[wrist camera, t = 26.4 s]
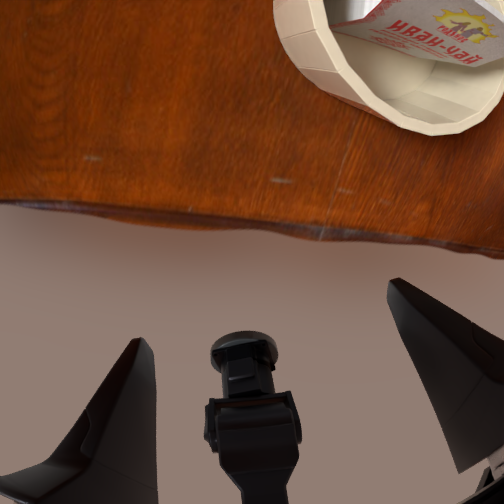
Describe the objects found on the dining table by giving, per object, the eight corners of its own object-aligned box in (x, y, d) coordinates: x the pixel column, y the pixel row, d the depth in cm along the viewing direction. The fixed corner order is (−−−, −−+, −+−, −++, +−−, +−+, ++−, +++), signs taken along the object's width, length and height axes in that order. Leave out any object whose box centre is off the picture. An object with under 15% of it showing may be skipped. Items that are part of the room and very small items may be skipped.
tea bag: (324, -23, 12) (423, -74, 4) (419, 10, 13) (538, 14, 5) (318, 28, 14) (420, 10, 6) (413, 57, 15) (533, 84, 7)
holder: (447, 102, 17) (514, 130, 12) (294, 118, 18) (334, 150, 12) (423, -46, 10) (489, -60, 4) (252, -57, 10) (273, -108, 5)
